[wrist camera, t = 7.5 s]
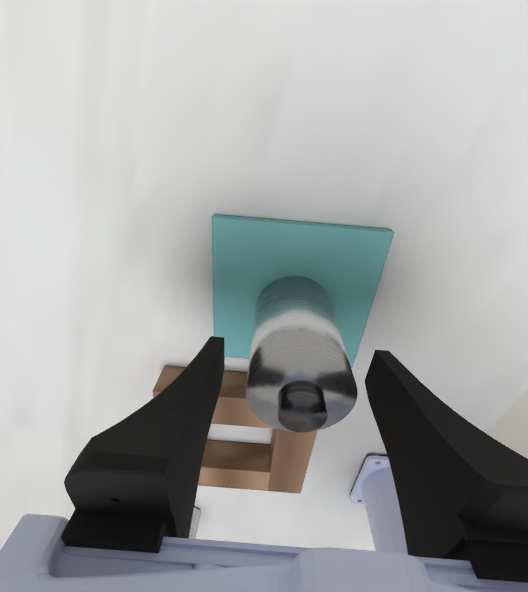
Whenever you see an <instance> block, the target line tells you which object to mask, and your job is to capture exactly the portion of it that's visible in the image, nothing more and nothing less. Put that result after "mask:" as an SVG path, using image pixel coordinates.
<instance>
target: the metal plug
mask: <svg viewBox="0 0 528 592" xmlns="http://www.w3.org/2000/svg"><path fill="white" fill-rule="evenodd" d="M356 399H357V386H356V383H355V379H354V376H353V373H352V370H351V366H350V363H349V360H348V357H347V354H346V350H345V347H344V344H343V341H342V337H341V334H340V331H339V328H338V324H337V321H336V318H335V315H334V311H333V308H332V305H331V302H330V298H329V296H328V294H327V292H326V291H325V289H324V288H323V287H322V286H321V285H320V284H318V283H317V282H315V281H313V280H311V279H309V278H306V277H301V276H288V277H283V278H280V279H277V280H275V281H273V282H271V283H270V284H269V285H267V286H266V287H265V288H264V289H263V290H262V292H261V293H260V295H259V297H258V299H257V303H256V309H255V318H254V326H253V335H252V343H251V352H250V360H249V369H248V377H247V386H246V401H247V404H248V406H249V408H250V410H251V411H252V412H253V414H254V415H255V416H256V417H257V418H259V419H260V420H261V421H263V422H264V423H266V424H268V425H270V426H272V427H275V428H278V429H281V430H286V431H293V432H300V433H305V432H311V431H315V430H320V429H323V428H326V427H329V426H331V425H333V424H335V423H337V422H339V421H340V420H342V419H343V418H344V417H345V416H346V415H348V414H349V412H350V411H351V410H352V408H353V407H354V405H355V402H356Z"/></svg>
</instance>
